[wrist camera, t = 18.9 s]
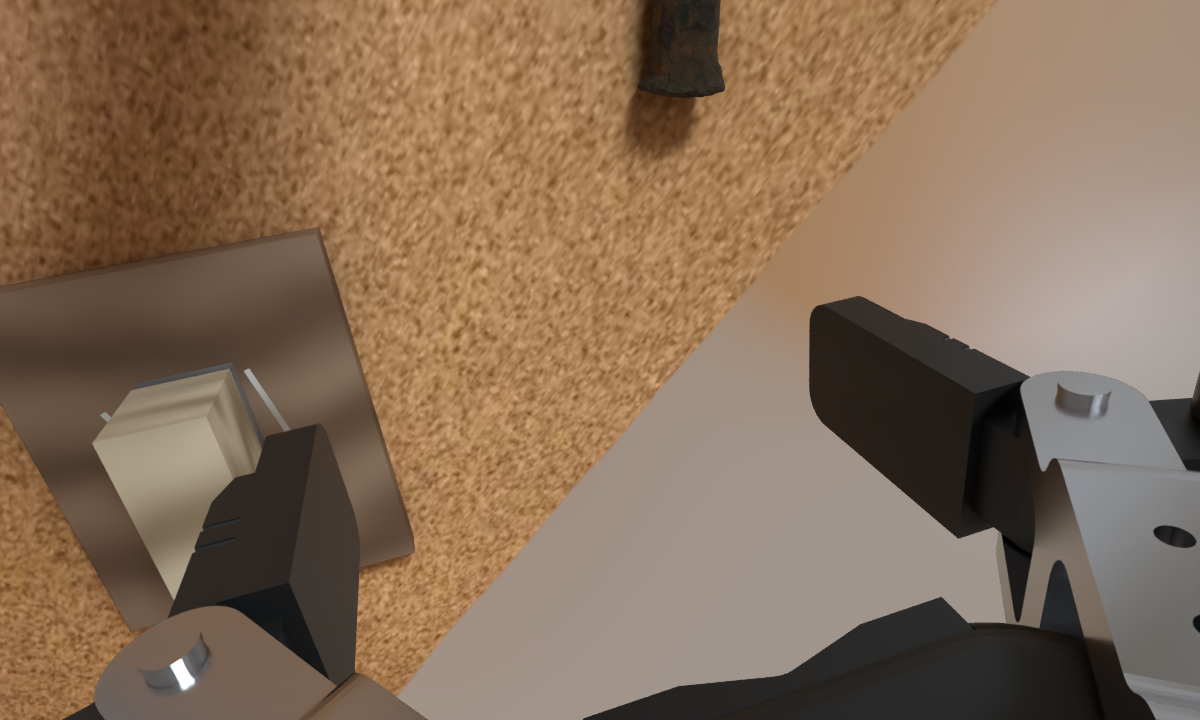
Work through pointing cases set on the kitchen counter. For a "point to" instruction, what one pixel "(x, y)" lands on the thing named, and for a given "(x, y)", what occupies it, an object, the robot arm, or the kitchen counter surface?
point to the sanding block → (178, 457)
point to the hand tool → (684, 49)
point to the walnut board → (178, 345)
